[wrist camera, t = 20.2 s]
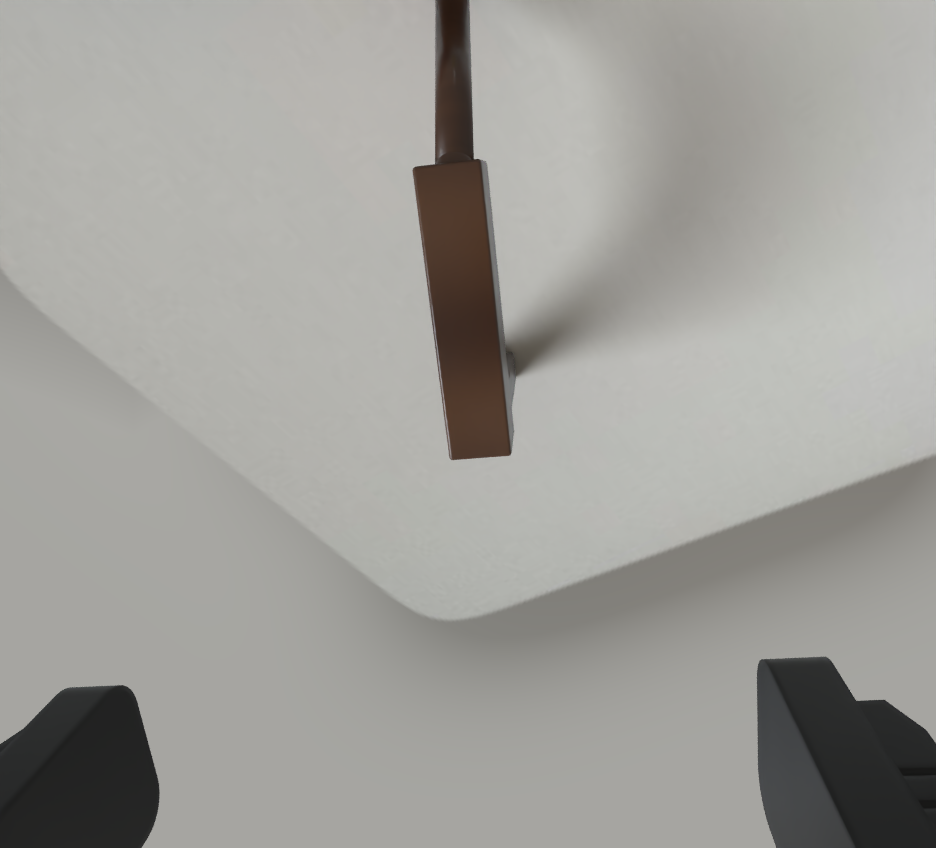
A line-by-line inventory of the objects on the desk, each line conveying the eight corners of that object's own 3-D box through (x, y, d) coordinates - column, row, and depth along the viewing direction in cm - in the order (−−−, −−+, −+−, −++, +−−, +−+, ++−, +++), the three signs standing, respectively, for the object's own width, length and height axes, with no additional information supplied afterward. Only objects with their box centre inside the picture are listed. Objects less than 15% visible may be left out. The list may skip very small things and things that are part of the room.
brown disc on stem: (366, -156, 28) (274, -331, 19) (516, -183, 28) (502, -379, 18) (436, 385, 34) (394, 465, 25) (561, 374, 34) (568, 452, 24)
